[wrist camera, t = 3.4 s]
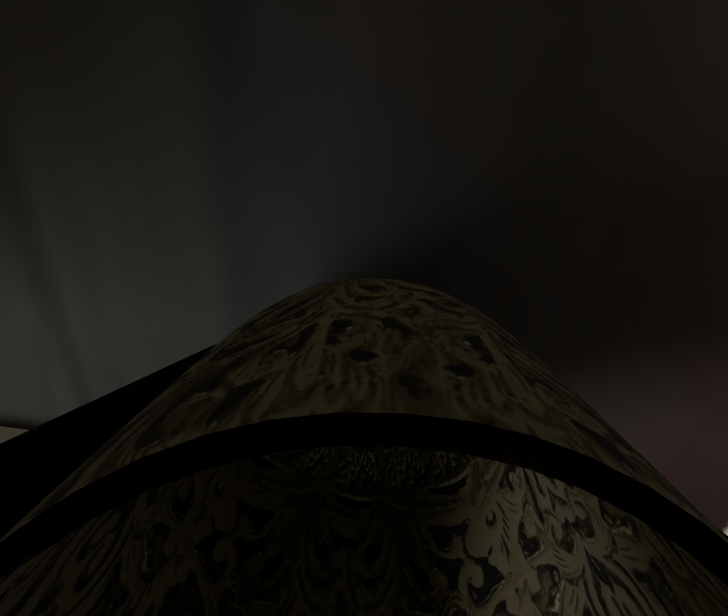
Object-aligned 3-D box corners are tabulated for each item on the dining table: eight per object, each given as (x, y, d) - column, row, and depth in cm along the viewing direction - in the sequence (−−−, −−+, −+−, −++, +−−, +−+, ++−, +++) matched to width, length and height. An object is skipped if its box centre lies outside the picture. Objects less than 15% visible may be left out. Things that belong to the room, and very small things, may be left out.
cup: (547, 235, 8) (1795, 898, 1) (459, 443, 11) (599, 942, 4) (245, 182, 8) (-1152, 582, 1) (245, 411, 11) (7, 895, 4)
